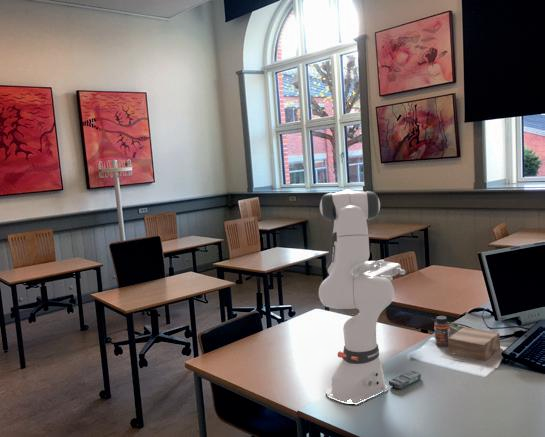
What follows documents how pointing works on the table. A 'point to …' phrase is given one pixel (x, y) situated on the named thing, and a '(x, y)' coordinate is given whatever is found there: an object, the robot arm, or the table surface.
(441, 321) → the supplement bottle
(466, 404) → the table surface
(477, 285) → the table surface
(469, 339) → the walnut block
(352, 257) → the robot arm
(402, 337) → the table surface
